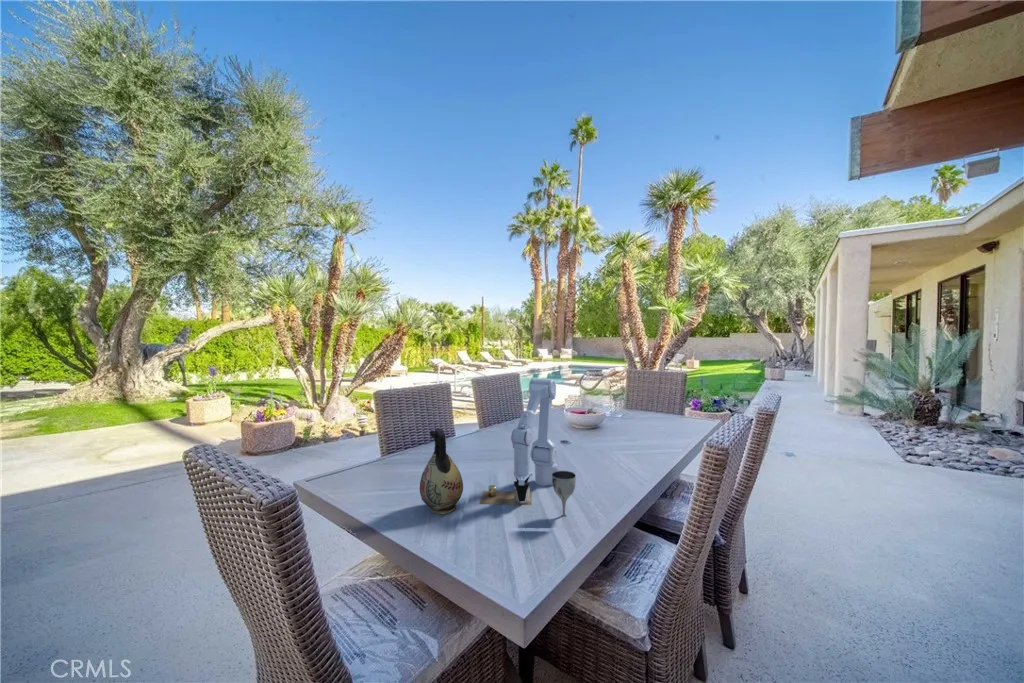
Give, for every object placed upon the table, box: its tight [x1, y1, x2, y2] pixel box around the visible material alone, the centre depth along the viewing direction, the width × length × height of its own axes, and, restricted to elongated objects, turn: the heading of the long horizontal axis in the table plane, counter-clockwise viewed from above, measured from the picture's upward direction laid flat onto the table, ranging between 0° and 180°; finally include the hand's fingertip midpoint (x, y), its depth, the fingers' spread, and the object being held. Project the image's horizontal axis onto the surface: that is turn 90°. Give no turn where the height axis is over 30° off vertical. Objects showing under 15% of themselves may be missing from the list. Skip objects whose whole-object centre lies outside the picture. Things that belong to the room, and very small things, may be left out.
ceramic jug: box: [419, 427, 464, 515], centre depth 143 cm, size 17×15×30 cm
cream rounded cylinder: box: [487, 484, 497, 497], centre depth 153 cm, size 3×3×4 cm
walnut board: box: [479, 490, 533, 506], centre depth 151 cm, size 19×12×1 cm, turn 87°
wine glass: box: [552, 470, 577, 518], centre depth 136 cm, size 8×8×15 cm
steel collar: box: [513, 485, 531, 504], centre depth 148 cm, size 6×6×5 cm
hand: (522, 497), depth 148 cm, fingers closed on steel collar, 6 cm apart
